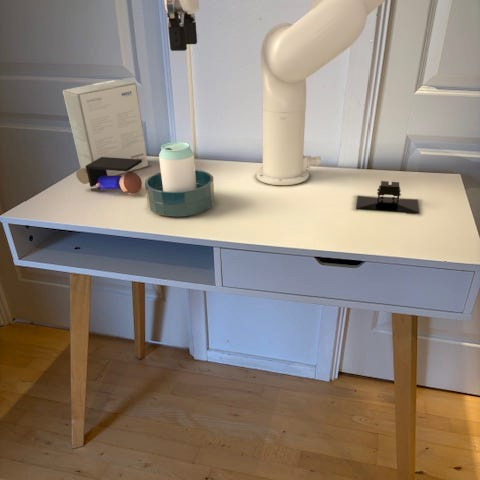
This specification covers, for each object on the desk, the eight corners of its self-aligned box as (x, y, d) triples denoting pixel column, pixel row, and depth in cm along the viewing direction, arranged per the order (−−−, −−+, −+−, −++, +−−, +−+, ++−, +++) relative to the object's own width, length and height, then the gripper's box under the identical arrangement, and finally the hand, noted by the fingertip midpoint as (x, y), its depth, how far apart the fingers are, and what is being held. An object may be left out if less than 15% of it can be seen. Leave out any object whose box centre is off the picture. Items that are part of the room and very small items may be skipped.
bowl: (202, 188, 113) (200, 165, 110) (224, 211, 103) (223, 185, 99) (142, 199, 109) (138, 174, 106) (157, 223, 99) (154, 197, 95)
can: (191, 210, 102) (185, 152, 95) (159, 207, 104) (152, 150, 97) (202, 197, 108) (197, 141, 101) (172, 195, 109) (166, 140, 102)
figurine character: (80, 198, 115) (134, 199, 109) (70, 165, 110) (125, 164, 104) (98, 188, 120) (150, 188, 114) (89, 156, 115) (142, 155, 109)
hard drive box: (133, 160, 132) (120, 78, 120) (149, 166, 127) (138, 82, 116) (80, 174, 124) (61, 88, 112) (95, 182, 119) (77, 93, 107)
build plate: (417, 201, 104) (421, 179, 102) (418, 215, 99) (423, 192, 96) (357, 197, 107) (360, 176, 104) (355, 210, 101) (358, 188, 98)
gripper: (184, -62, 83) (193, 53, 93) (204, -58, 97) (210, 41, 107) (142, -60, 84) (155, 53, 94) (167, -56, 98) (176, 42, 108)
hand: (184, 47), depth 101 cm, fingers open, 9 cm apart
